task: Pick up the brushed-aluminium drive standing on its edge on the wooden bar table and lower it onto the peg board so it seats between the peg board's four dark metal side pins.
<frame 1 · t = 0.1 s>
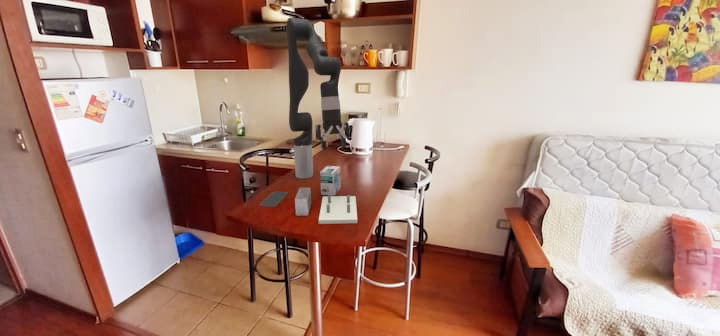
hand: (334, 148, 124), 22 cm above the table, tool pointing down, fingers open, 8 cm apart
smartphone: (274, 200, 131), on the table
light bulb box: (331, 191, 140), on the table
peg board: (338, 210, 120), on the table
drive: (303, 209, 122), on the table
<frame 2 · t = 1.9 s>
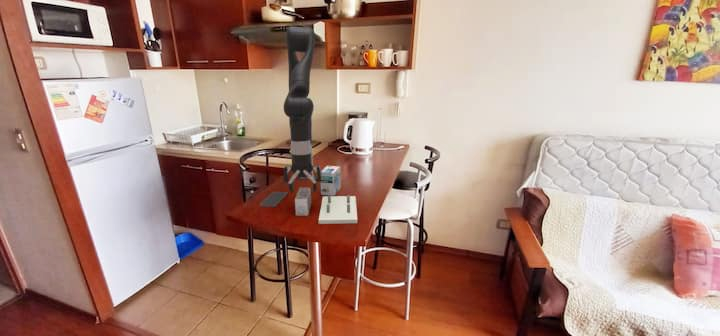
hand: (303, 191, 119), 7 cm above the table, tool pointing down, fingers open, 8 cm apart
nothing on the table moved.
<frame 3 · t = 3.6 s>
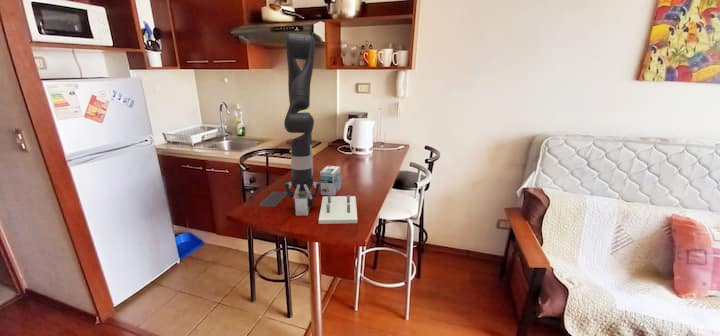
hand: (303, 206, 121), 1 cm above the table, tool pointing down, fingers closed on drive, 4 cm apart
drive: (303, 209, 122), on the table, touching gripper
everything else where it was.
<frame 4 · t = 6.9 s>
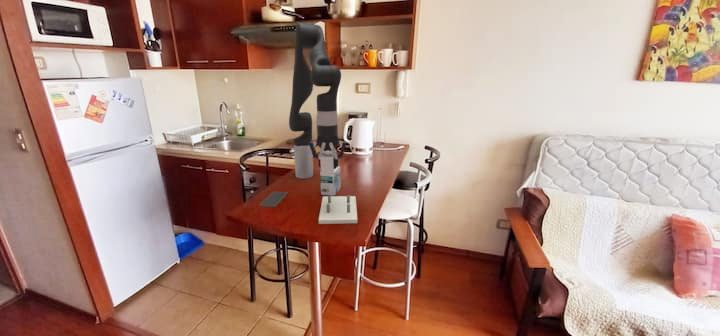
hand: (328, 168, 115), 18 cm above the table, tool pointing down, fingers closed on drive, 4 cm apart
drive: (328, 170, 115), point 17 cm above the table, touching gripper
everything else where it was.
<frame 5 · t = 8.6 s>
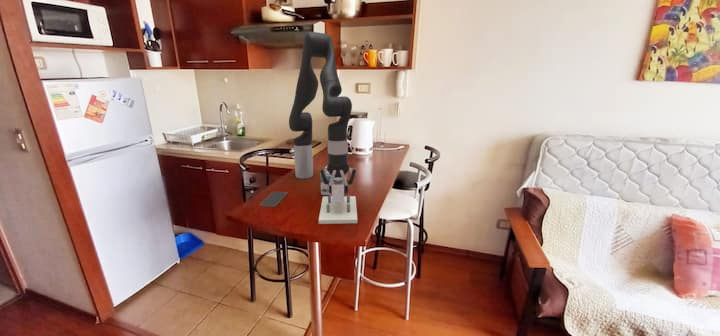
hand: (338, 193, 118), 7 cm above the table, tool pointing down, fingers closed on drive, 4 cm apart
drive: (338, 196, 118), point 6 cm above the table, touching gripper
everything else where it was.
when the fingers open (3 cm above the table, at t = 10.2 s): drive stays where it is, resting on peg board.
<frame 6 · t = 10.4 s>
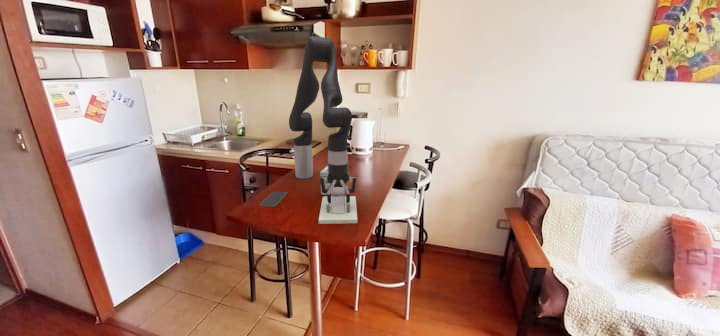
hand: (338, 202, 119), 4 cm above the table, tool pointing down, fingers open, 6 cm apart
drive: (338, 207, 120), point 1 cm above the table, touching peg board
everything else where it was.
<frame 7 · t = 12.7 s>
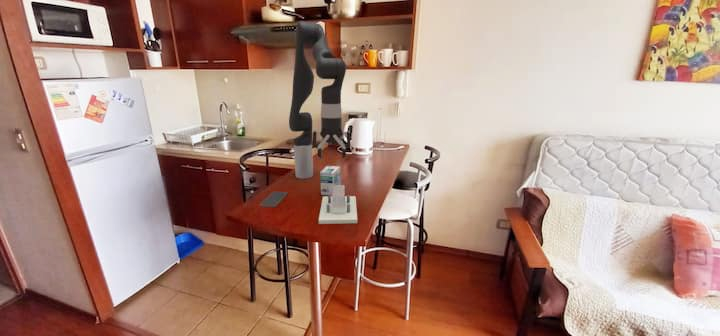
hand: (331, 157, 117), 21 cm above the table, tool pointing down, fingers open, 8 cm apart
nothing on the table moved.
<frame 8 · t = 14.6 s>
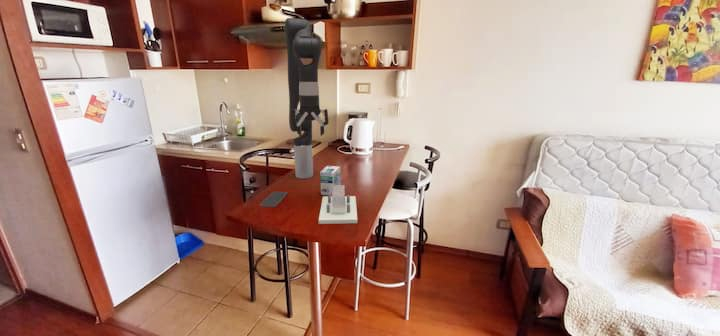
hand: (310, 135, 122), 28 cm above the table, tool pointing down, fingers open, 8 cm apart
nothing on the table moved.
at the end: drive 0.1 cm off-centre on the peg board, point 1.5 cm above the peg board's base; drive tilted 0°; the gripper is holding nothing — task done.
